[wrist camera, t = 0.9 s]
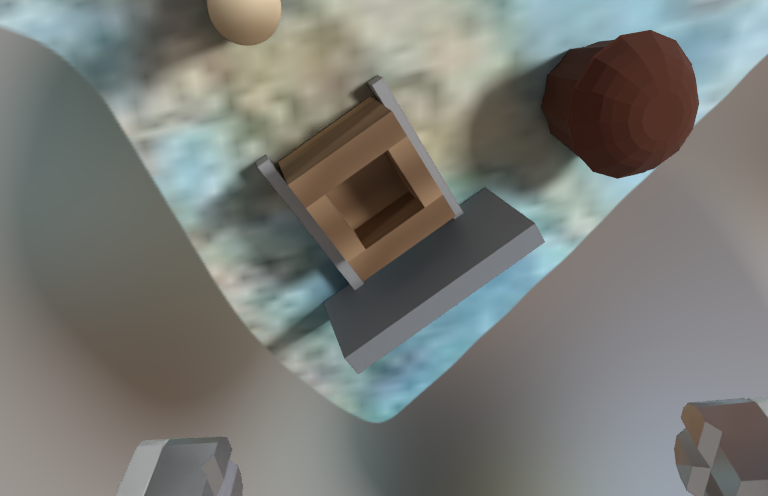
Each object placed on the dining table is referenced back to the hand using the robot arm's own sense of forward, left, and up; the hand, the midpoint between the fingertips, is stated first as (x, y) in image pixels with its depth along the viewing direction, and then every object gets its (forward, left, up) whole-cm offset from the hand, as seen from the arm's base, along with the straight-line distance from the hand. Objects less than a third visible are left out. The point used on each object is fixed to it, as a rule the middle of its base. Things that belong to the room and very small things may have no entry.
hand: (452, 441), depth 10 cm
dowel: (-6, -2, -38) cm, 39 cm away
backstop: (+9, +9, -38) cm, 40 cm away
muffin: (0, +28, -38) cm, 48 cm away
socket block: (+7, +8, -38) cm, 39 cm away
